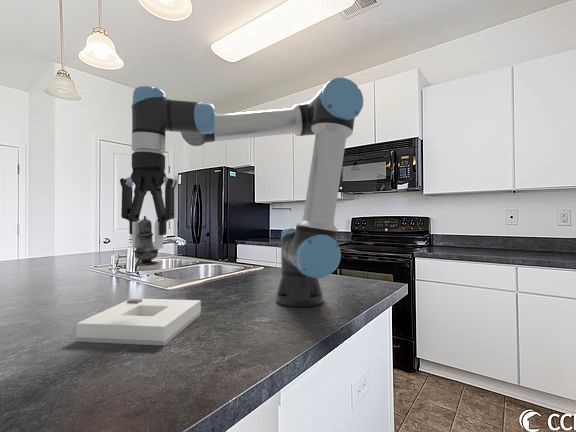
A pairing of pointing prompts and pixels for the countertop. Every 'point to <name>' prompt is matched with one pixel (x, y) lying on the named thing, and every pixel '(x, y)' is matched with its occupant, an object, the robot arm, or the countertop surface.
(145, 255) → the dark gray chess piece
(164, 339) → the socket plate
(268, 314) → the countertop surface
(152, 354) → the countertop surface
